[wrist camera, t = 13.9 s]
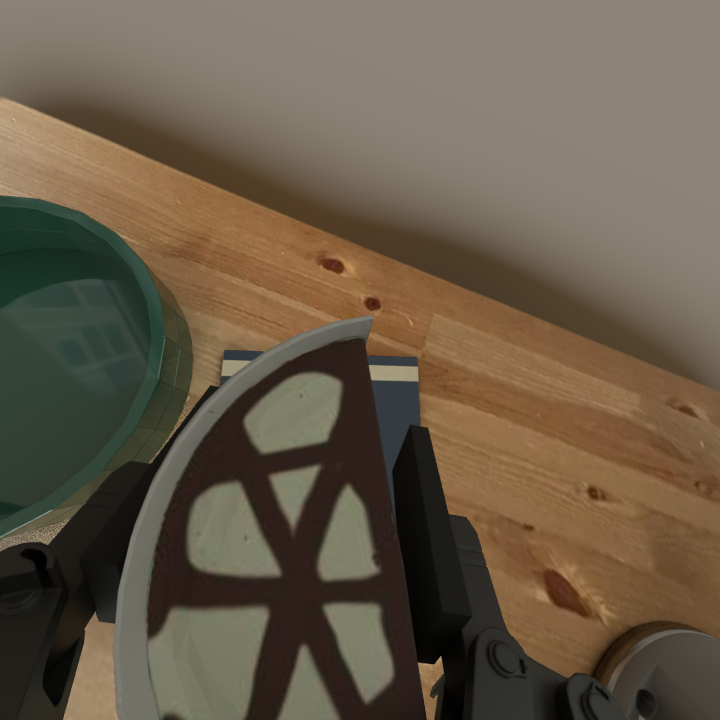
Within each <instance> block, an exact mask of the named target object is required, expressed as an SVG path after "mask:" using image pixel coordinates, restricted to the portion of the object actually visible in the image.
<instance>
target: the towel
mask: <svg viewBox="0 0 720 720" xmlns="http://www.w3.org/2000/svg"><path fill="white" fill-rule="evenodd" d="M263 353H264V352H263V351H237V350H225V351H224V360H223V365H222V374H221V376H222V377H221V386H222V385H223V384H224V383H225V382H226V381H227V380H228V379H229V378H230V377H231V376H232V375H233V374H235V373H236V372H237V371H239V370H240V369H242V368H243V367H244V366H246V365H247V364H249V363H250V362H251V361H253V360H254V359H256V358H257V357H258V356H260V355H261V354H263ZM367 358H368V363H369V369H370V375H371V381H372V387H373V393H374V399H375V405H376V411H377V417H378V423H379V429H380V435H381V441H382V447H383V453H384V459H385V465H386V471H387V477H388V483H389V489H390V494H391V500H392V506H393V511H394V517H395V522H396V515H395V502H394V490H393V478H392V470H393V467H394V464H395V462H396V459H397V457H398V454H399V452H400V449H401V446H402V444H403V441H404V439H405V436H406V434H407V431H408V428H409V426H410V424H411V425H416V426H420V410H419V389H418V367H417V357H392V356H367ZM221 386H220V387H221Z"/></svg>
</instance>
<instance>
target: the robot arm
mask: <svg viewBox="0 0 720 720" xmlns="http://www.w3.org/2000/svg"><path fill="white" fill-rule="evenodd" d="M219 388H220V387H216V386H211V385H210V387H209V388H208V389H207V391H206V392H205V393H204V395H203V396H202V397H201V399H200V400H199V401H198V403H197V404H196V405H195V407H194V408H193V409H192V411H191V412H190V413H189V414H188V416H187V417H186V418H185V420H184V421H183V422H182V424H181V425H180V426H179V428H178V429H177V430H176V432H175V433H174V434H173V436H172V437H171V438H170V440H169V441H168V442H167V444H166V445H165V446H164V447H163V449H162V450H161V451H160V453H159V454H158V455H157V457H156V458H155V459H154V461H153V462H152V463H151V464H148V463H142V462H136V461H128V462H127V463H125V464H124V465H122V466H121V467H119V468H117V469H116V470H114V471H113V472H111V473H110V475H109V476H108V477H107V478H106V479H105V480H104V481H103V483H102V484H101V485H100V486H99V487H98V490H97V491H95V492H94V493H93V494H92V495H91V496H90V498H89V499H88V500H87V501H86V504H85V505H84V504H83V506H82V507H81V508H80V509H79V510H78V511H77V513H76V514H75V515H74V516H73V517H72V518H71V519H70V521H69V522H68V523H67V524H66V525H65V526H64V527H63V529H62V530H61V531H60V532H59V533H58V534H57V536H56V537H55V538H54V539H53V540H52V541H51V542H50V544H49V545H46V544H43V543H41V542H30V543H23V544H19V545H16V546H12V547H9V548H7V549H5V550H3V551H1V552H0V720H63V717H64V714H65V710H66V706H67V703H68V699H69V695H70V692H71V688H72V684H73V681H74V677H75V673H76V670H77V666H78V662H79V659H80V655H81V652H82V648H83V644H84V636H85V630H84V628H85V627H86V625H87V624H88V622H89V621H90V619H91V617H92V616H93V614H94V613H95V611H96V614H97V617H98V620H99V622H107V623H115V621H116V610H117V599H118V590H119V585H120V581H121V577H122V573H123V569H124V564H125V560H126V556H127V552H128V547H129V543H130V539H131V536H132V533H133V529H134V525H135V523H136V520H137V518H138V515H139V513H140V510H141V508H142V505H143V503H144V500H145V498H146V495H147V493H148V490H149V488H150V485H151V483H152V480H153V478H154V476H155V475H156V473H157V471H158V469H159V468H160V466H161V464H162V462H163V461H164V459H165V457H166V455H167V454H168V452H169V450H170V448H171V447H172V445H173V443H174V441H175V440H176V438H177V437H178V435H179V434H180V433H181V432H182V430H183V429H184V428H185V426H186V425H187V424H188V423H189V421H190V420H191V419H192V417H193V416H194V415H195V414H196V412H197V411H198V410H199V408H200V407H201V406H202V405H203V403H204V402H205V401H206V400H207V399H208V398H210V397H211V396H212V395H213V394H214V393H215V392H216V391H217V390H218V389H219ZM392 478H393V490H394V502H395V515H396V527H397V533H398V538H399V543H400V549H401V554H402V559H403V565H404V570H405V577H406V584H407V591H408V598H409V605H410V612H411V619H412V626H413V634H414V641H415V648H416V655H417V661H418V662H419V663H427V664H435V663H436V661H437V660H438V659H439V658H440V657H442V663H443V670H444V674H443V675H442V677H441V678H440V679H439V680H438V681H437V682H436V683H435V685H434V686H433V687H432V690H431V693H430V697H432V698H434V697H435V696H436V695H437V694H438V697H437V705H436V712H435V719H434V720H720V639H718V638H716V637H714V636H711V635H709V634H707V633H705V632H703V631H701V630H699V629H696V628H694V627H691V626H688V625H685V624H681V623H676V622H654V623H649V624H646V625H642V626H640V627H638V628H636V629H633V630H632V631H630V632H629V633H627V634H626V635H624V636H623V637H622V638H621V639H619V640H618V641H617V642H616V643H615V644H614V645H613V646H612V647H611V649H610V650H609V651H608V653H607V654H606V655H605V657H604V658H603V660H602V662H601V663H600V665H599V667H598V669H597V671H596V673H595V675H594V678H593V677H591V676H589V675H587V674H585V673H575V674H573V675H572V676H571V677H569V678H568V679H567V678H565V677H564V676H562V675H560V674H558V673H556V672H554V671H553V670H551V669H549V668H547V667H545V666H543V665H541V664H540V663H538V662H536V661H535V660H533V659H532V658H530V657H529V656H527V655H526V654H525V653H524V651H523V649H522V647H521V646H520V645H519V644H518V642H517V641H516V640H515V639H514V637H512V636H511V635H510V634H509V632H508V630H507V628H506V625H505V623H504V620H503V617H502V614H501V611H500V607H499V604H498V601H497V598H496V594H495V591H494V588H493V584H492V581H491V578H490V575H489V571H488V568H487V567H486V561H485V558H484V555H483V553H482V548H481V545H480V542H479V539H478V535H477V532H476V531H475V529H474V528H473V526H472V525H471V523H470V522H469V520H468V519H467V517H462V516H456V515H450V514H448V510H447V505H446V501H445V497H444V493H443V489H442V484H441V480H440V476H439V472H438V468H437V463H436V459H435V455H434V451H433V447H432V442H431V438H430V434H429V430H428V428H426V427H421V426H416V425H411V424H410V426H409V428H408V431H407V434H406V436H405V439H404V441H403V444H402V446H401V449H400V452H399V454H398V457H397V459H396V462H395V464H394V467H393V470H392Z"/></svg>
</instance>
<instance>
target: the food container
mask: <svg viewBox="0 0 720 720" xmlns="http://www.w3.org/2000/svg"><path fill="white" fill-rule="evenodd" d="M372 322H373V315H372V316H363V317H358V318H352V319H347V320H341V321H336V322H332V323H329V324H326V325H324V326H321V327H318V328H315V329H312V330H309V331H306V332H303V333H300V334H298V335H296V336H294V337H292V338H290V339H288V340H286V341H284V342H282V343H280V344H279V345H277V346H275V347H273V348H271V349H269V350H267V351H265V352H264V353H263V354H261V355H260V356H258V357H257V358H256V359H254V360H253V361H251V362H250V363H249V364H247V365H246V366H244V367H243V368H242V369H240V370H239V371H237V372H236V373H235V374H233V375H232V376H231V377H230V378H229V379H228V380H227V381H226V382H225V383H224V384H223V385H222V386H221V387H220V388H219V389H218V390H217V391H216V392H215V393H214V394H213V395H212V396H211V397H210V398H208V399H207V400H206V401H205V402H204V403H203V405H202V406H201V407H200V408H199V410H198V411H197V412H196V414H195V415H194V416H193V417H192V419H191V420H190V421H189V423H188V424H187V425H186V426H185V428H184V429H183V430H182V432H181V433H180V434H179V435H178V437H177V438H176V440H175V441H174V443H173V445H172V447H171V448H170V450H169V452H168V454H167V455H166V457H165V459H164V461H163V462H162V464H161V466H160V468H159V469H158V471H157V473H156V475H155V476H154V478H153V480H152V483H151V485H150V488H149V490H148V493H147V495H146V498H145V500H144V503H143V505H142V508H141V510H140V513H139V515H138V518H137V520H136V523H135V525H134V529H133V533H132V536H131V539H130V543H129V547H128V552H127V556H126V560H125V564H124V569H123V573H122V577H121V581H120V585H119V590H118V599H117V610H116V621H115V632H114V643H113V657H114V675H115V693H116V709H117V714H118V718H119V720H427V718H426V712H425V705H424V699H423V693H422V686H421V680H420V674H419V667H418V661H417V655H416V648H415V641H414V634H413V626H412V619H411V612H410V605H409V598H408V591H407V584H406V577H405V570H404V565H403V559H402V554H401V549H400V543H399V538H398V533H397V527H396V522H395V517H394V511H393V506H392V500H391V494H390V489H389V483H388V477H387V471H386V465H385V459H384V453H383V447H382V441H381V435H380V429H379V423H378V417H377V411H376V405H375V399H374V393H373V387H372V381H371V375H370V369H369V363H368V358H367V352H366V343H367V339H368V336H369V332H370V329H371V325H372Z"/></svg>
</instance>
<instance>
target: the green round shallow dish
mask: <svg viewBox="0 0 720 720" xmlns="http://www.w3.org/2000/svg"><path fill="white" fill-rule="evenodd" d="M192 363H193V354H192V341H191V337H190V333H189V328H188V325H187V322H186V320H185V317H184V315H183V312H182V310H181V308H180V306H179V305H178V303H177V301H176V299H175V297H174V295H173V294H172V292H171V291H170V290H169V289H168V288H167V287H166V286H165V285H164V284H163V283H162V281H161V280H160V279H159V278H158V277H157V276H156V275H155V274H154V273H153V271H152V270H151V269H150V268H149V267H148V266H147V265H146V264H145V263H144V262H143V260H142V259H141V258H140V257H139V256H138V255H137V254H136V253H135V252H134V251H133V250H132V249H131V248H130V247H129V246H128V244H127V243H126V242H125V241H124V240H123V239H122V238H121V237H120V236H119V235H118V234H117V233H116V232H114V231H112V230H111V229H109V228H107V227H106V226H104V225H102V224H101V223H99V222H97V221H96V220H94V219H92V218H91V217H89V216H87V215H86V214H84V213H82V212H80V211H77V210H73V209H70V208H67V207H64V206H61V205H57V204H54V203H51V202H48V201H44V200H41V199H35V198H24V197H13V196H2V195H0V539H3V538H6V537H10V536H13V535H17V534H20V533H23V532H27V531H30V530H34V529H37V528H41V527H44V526H48V525H51V524H55V523H58V522H62V521H64V520H66V519H68V518H70V517H72V516H73V515H75V514H76V513H77V511H78V510H79V509H80V508H81V507H82V506H83V504H84V505H85V504H86V501H87V500H88V499H89V498H90V496H91V495H92V494H93V493H94V492H95V491H97V490H98V487H99V486H100V485H101V484H102V483H103V481H104V480H105V479H106V478H107V477H108V476H109V475H110V473H111V472H113V471H114V470H116V469H117V468H119V467H121V466H122V465H124V464H125V463H127V462H128V461H136V462H142V463H148V462H149V461H150V460H151V459H152V458H153V456H154V455H155V454H156V453H157V452H158V450H159V449H160V448H161V447H162V445H163V444H164V442H165V441H166V439H167V438H168V436H169V435H170V433H171V432H172V430H173V428H174V426H175V424H176V422H177V420H178V418H179V416H180V414H181V412H182V409H183V406H184V404H185V401H186V398H187V395H188V391H189V386H190V381H191V377H192Z"/></svg>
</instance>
